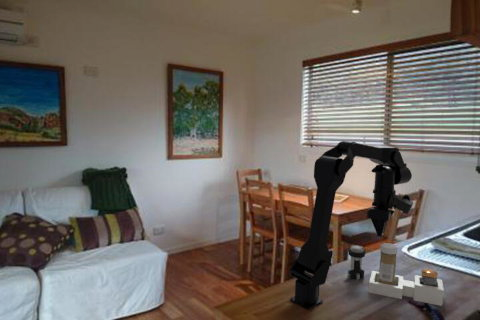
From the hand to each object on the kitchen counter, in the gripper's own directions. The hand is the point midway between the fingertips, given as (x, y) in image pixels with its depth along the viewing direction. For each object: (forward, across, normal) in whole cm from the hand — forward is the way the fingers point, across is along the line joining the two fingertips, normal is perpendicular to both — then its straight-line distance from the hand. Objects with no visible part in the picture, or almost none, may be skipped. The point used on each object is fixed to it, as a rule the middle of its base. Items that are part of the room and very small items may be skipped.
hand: (380, 234), depth 118 cm
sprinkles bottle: (+13, -10, -4) cm, 17 cm away
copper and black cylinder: (+11, -9, -15) cm, 20 cm away
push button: (+13, -8, +6) cm, 16 cm away
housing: (+13, -9, -9) cm, 18 cm away
